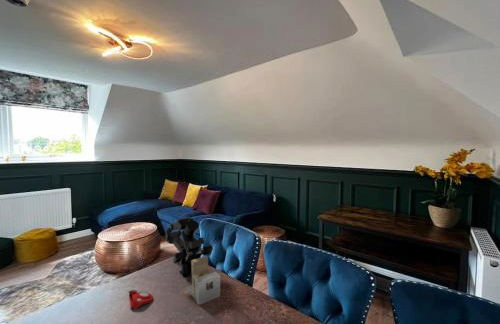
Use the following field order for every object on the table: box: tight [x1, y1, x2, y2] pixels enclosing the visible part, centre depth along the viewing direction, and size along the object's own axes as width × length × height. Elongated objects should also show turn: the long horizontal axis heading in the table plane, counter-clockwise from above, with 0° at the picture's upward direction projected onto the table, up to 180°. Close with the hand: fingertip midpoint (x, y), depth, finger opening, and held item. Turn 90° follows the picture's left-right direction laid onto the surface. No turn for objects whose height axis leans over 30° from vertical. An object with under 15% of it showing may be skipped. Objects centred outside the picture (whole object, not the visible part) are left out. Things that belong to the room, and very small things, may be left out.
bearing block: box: [186, 271, 221, 305], centre depth 105 cm, size 15×10×10 cm
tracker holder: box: [128, 289, 154, 310], centre depth 99 cm, size 12×4×10 cm
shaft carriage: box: [191, 255, 209, 290], centre depth 105 cm, size 8×7×13 cm
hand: (198, 270), depth 109 cm, fingers closed
